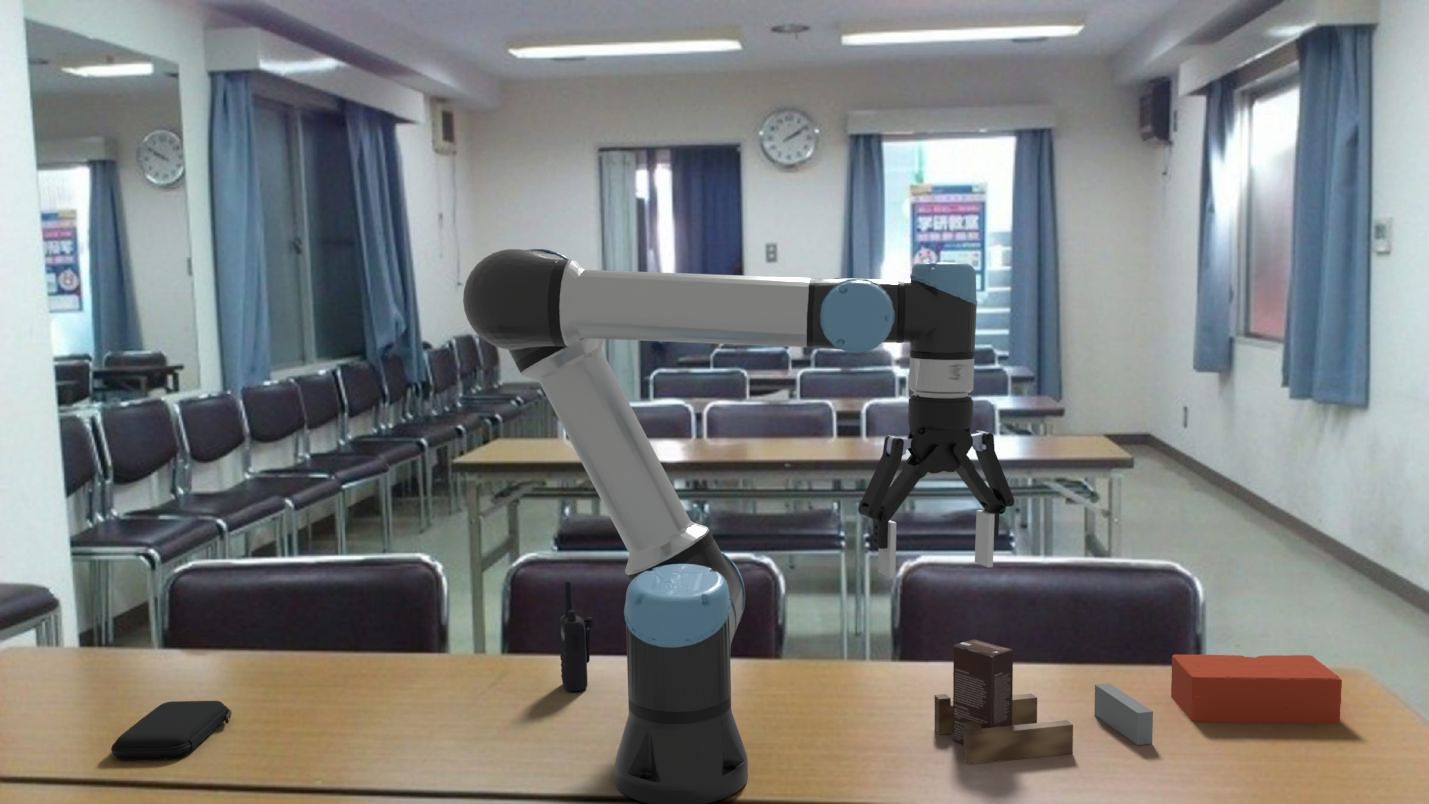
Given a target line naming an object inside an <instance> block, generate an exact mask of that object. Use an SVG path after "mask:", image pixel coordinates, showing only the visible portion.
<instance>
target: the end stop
mask: <svg viewBox="0 0 1429 804" xmlns="http://www.w3.org/2000/svg"><path fill="white" fill-rule="evenodd" d="M1093 713H1094V716H1095V717H1096V718H1098V719H1099V720H1100V721H1102V722H1103V723H1105V724H1107V725H1108V726H1109V727H1111V728H1112V729H1113V730H1115V731H1117V732H1118V733H1119V734H1121V735H1122V736H1123V737H1124V738H1126V739H1127V740H1129V741H1130V742H1132V743H1133V744H1135V745H1136V746H1143V745H1151V744H1153V733H1154V732H1153V729H1154V727H1153V726H1154V723H1153V722H1154V720H1153V719H1154V712H1153V710H1151V709H1149V708H1148V707H1147V706H1146V705H1143V704H1142V703H1140V702H1139V701H1138V700H1136V699H1134V698H1133V697H1131V696H1130V695H1128V694H1126V693H1125V692H1124V691H1122V690H1121V689H1119V688H1117V687H1116V686H1114V685H1113V684H1111V683H1109V682H1107V683H1106V682H1105V683H1098V684H1094V712H1093Z"/></svg>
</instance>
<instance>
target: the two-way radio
mask: <svg viewBox="0 0 1429 804" xmlns="http://www.w3.org/2000/svg"><path fill="white" fill-rule="evenodd" d="M572 594H573V593H572V583H571V581H570V579H569V580H565V582H564V609H565V611H564V614H563V615H562V616H560V618H559V630H560V632H559V633H560V644H559V647H560V649H559V650H560V662H561V663H560V668H561V669H560V671H561V673H560V675H561V682H562V685H563V687H564V688H565V690H566V691H568V692H570V691H574V692H578V691H579V692H581V690H582V691H583V690H585V689H586V688H588V681H589V680H588V663H590V661H591V660H590V657H591V656H590V655H591V654H590V638H591V637H590V636H591V631H592V628H593V626H594V621H593V620H594V619H593V617H592V616H587V617H586V619H584V618H583V617H581V616H579V615H576V611H575V609H573V596H572Z"/></svg>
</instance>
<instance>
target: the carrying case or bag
mask: <svg viewBox="0 0 1429 804" xmlns="http://www.w3.org/2000/svg"><path fill="white" fill-rule="evenodd" d="M232 714H233V713H232V710H231V709H230V708H228V707H227V705H225V704H224V703H223V702H222V701H220V700H185V701H184V700H179V701H166V702H163V703H161V704H159V705H158V706H157V707H155V708H154V709H153V710H151V711H150V712H149V713H148V714H146V715H145V716H143V717H142V718H141V719H139V720H138V721H137V722H136V723H135V724H134V725H132V726H130V727H129V729H126V731H125V732H123V733H122V734H121V735H120V736H118V738H117V739H116V740H115V742H114V743H113V744H112V745H111V748H110V751H111V752H110V753H111V754H112V755H113V756H114V757H116V758H117V759H118V760H121V761H153V760H155V761H156V760H163V761H165V760H177V759H181V758H183V757H185V756H186V755H188V754H189V753H190V752H192V751H193V750H194V749H195V748H197V746H199V744H201V743H202V741H203V740H205V739H206V738H207V737H208V736H209V735H210V734H212V732H214V731H215V730H216V729H217V728H218V727H219V726H220V725H222V724H223V723H224V722H225V724H229V722H230V720H231V716H232Z"/></svg>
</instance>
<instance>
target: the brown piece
mask: <svg viewBox="0 0 1429 804" xmlns="http://www.w3.org/2000/svg"><path fill="white" fill-rule="evenodd" d="M934 731H935V732H936V733H937V734H938V735H947V734H953V700H952V699H951V697H950V696H949V695H948V694H946V693H943V694H942V693H941V694H934ZM1073 748H1074V724H1073V723H1071V722H1070V721H1069V720H1068V719H1063V720H1053V721H1045V722H1038V697H1037V696H1036V695H1035V694H1033V693H1023V694H1021V693H1020V694H1013V697H1012V726H1003V727H993V728H983V729H981V725H980V724H979V723H978V722H977V721H970V722H964V744H963V760H964V761H965V762H966V763H967V765H976V764H984V763H994V762H1004V761H1014V760H1022V759H1031V758H1042V757H1052V756H1060V755H1061V756H1062V755H1070V754H1073V752H1074V750H1073Z"/></svg>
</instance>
